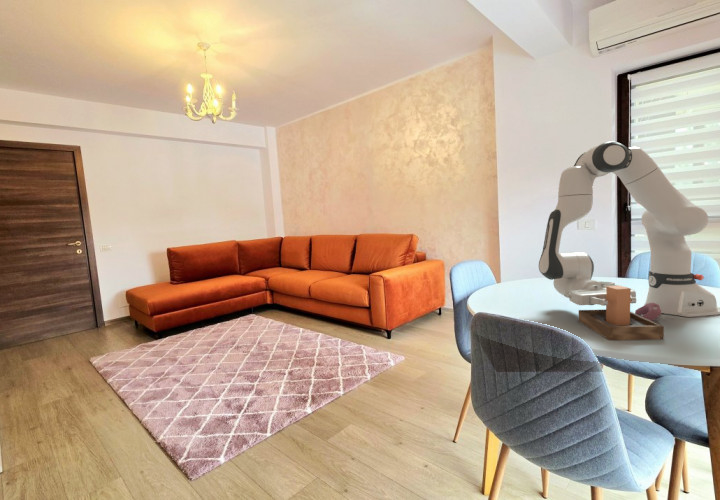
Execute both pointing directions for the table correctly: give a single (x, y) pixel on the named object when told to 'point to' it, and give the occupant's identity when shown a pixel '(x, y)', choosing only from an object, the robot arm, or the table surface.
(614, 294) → the peg
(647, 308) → the video game controller
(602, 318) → the box
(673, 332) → the table surface
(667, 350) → the table surface
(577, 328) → the table surface
